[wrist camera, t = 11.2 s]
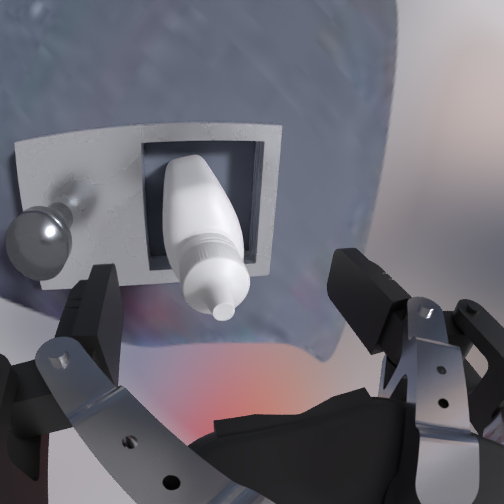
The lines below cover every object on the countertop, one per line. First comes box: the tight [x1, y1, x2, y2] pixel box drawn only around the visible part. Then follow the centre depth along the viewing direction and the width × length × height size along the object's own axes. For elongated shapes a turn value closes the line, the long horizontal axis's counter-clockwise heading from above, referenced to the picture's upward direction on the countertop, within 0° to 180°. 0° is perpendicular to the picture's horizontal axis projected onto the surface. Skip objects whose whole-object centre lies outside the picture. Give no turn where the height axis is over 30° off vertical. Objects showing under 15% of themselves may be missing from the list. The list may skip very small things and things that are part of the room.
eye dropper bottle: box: [163, 155, 250, 321], centre depth 15 cm, size 4×6×12 cm
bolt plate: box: [5, 121, 282, 290], centre depth 16 cm, size 10×16×6 cm, turn 86°
